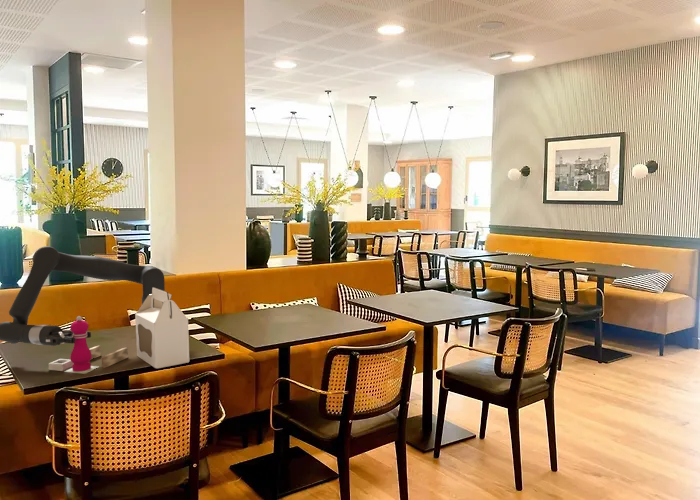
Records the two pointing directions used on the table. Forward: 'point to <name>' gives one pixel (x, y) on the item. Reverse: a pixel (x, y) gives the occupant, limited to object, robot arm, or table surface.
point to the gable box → (161, 331)
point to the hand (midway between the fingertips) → (82, 337)
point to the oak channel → (109, 355)
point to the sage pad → (82, 371)
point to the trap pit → (60, 364)
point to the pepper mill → (80, 346)
